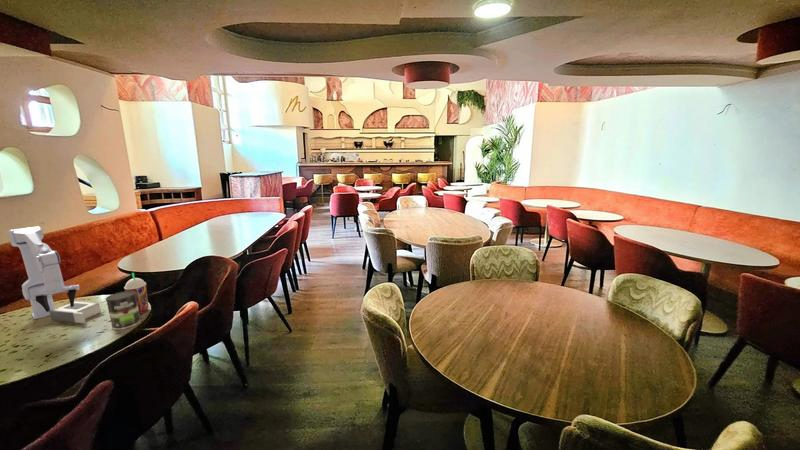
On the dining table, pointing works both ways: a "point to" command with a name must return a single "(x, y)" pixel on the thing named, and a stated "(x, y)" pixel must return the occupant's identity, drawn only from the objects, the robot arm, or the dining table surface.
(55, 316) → the side door
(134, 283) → the smoothie
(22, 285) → the robot arm
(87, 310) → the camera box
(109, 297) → the coffee can
